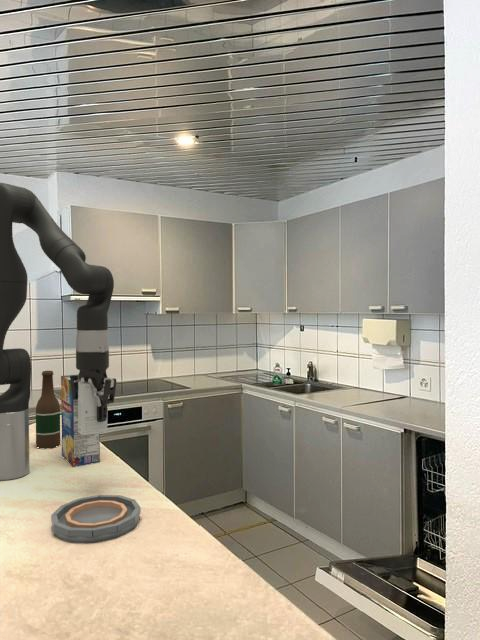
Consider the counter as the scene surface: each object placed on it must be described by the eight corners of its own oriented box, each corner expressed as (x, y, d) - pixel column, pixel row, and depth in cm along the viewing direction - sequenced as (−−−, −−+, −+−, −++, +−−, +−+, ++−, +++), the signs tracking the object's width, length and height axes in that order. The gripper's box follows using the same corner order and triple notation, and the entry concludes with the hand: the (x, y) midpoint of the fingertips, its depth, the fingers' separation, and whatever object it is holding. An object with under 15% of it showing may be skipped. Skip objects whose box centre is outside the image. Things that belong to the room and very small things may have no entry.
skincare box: (82, 436, 111) (82, 384, 110) (77, 432, 114) (77, 381, 114) (108, 432, 114) (108, 382, 114) (102, 428, 118) (102, 379, 118)
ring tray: (34, 528, 96) (34, 516, 95) (101, 499, 110) (101, 489, 110) (91, 551, 86) (91, 538, 86) (156, 517, 101) (156, 505, 100)
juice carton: (61, 456, 142) (60, 375, 142) (87, 452, 147) (86, 373, 146) (73, 467, 132) (72, 380, 132) (99, 462, 137) (99, 378, 136)
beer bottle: (55, 449, 149) (54, 372, 149) (30, 449, 150) (29, 372, 149) (65, 442, 157) (64, 369, 157) (41, 442, 157) (40, 369, 157)
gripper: (59, 348, 115) (60, 419, 115) (100, 351, 107) (101, 427, 107) (85, 346, 121) (85, 413, 121) (125, 349, 113) (126, 420, 113)
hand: (93, 419), depth 114 cm, fingers closed on skincare box, 5 cm apart
